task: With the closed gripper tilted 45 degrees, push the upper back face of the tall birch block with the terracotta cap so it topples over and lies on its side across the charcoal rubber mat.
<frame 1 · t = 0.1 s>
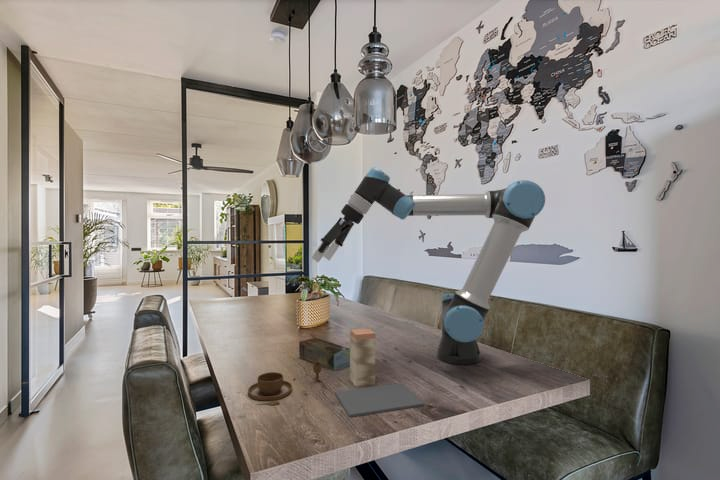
hand: (320, 259, 127), 36 cm above the table, tool tilted 35°, fingers open, 13 cm apart
birch block: (362, 381, 109), on the table
place setting: (285, 394, 102), on the table
beverage carton: (324, 362, 127), on the table
rubber mat: (377, 399, 97), on the table
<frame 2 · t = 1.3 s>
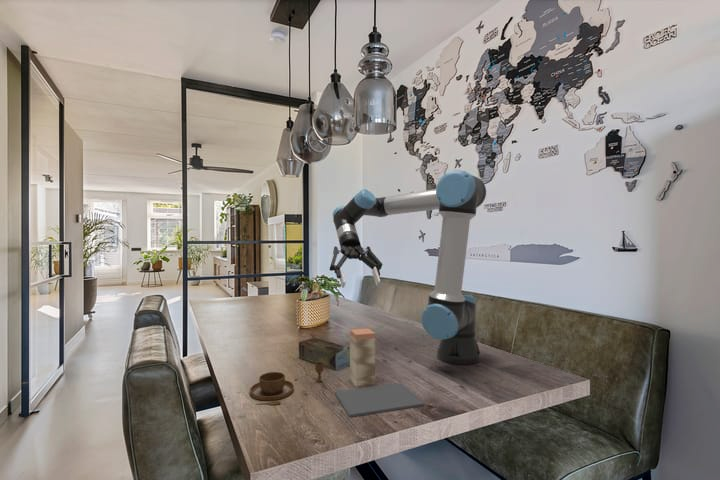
hand: (361, 284, 123), 27 cm above the table, tool tilted 45°, fingers open, 12 cm apart
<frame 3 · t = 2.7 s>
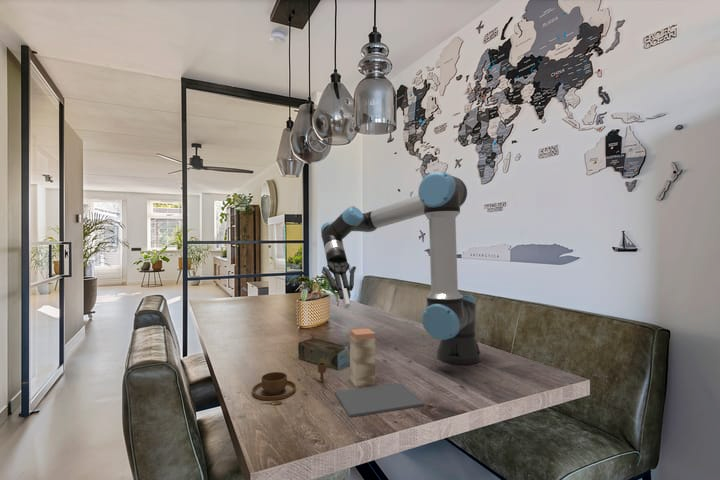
hand: (347, 306, 124), 20 cm above the table, tool tilted 45°, fingers closed
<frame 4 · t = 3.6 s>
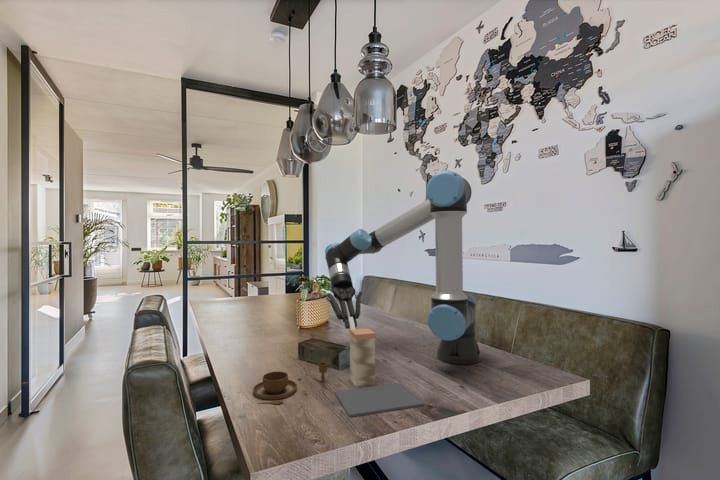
hand: (353, 336, 117), 11 cm above the table, tool tilted 45°, fingers closed
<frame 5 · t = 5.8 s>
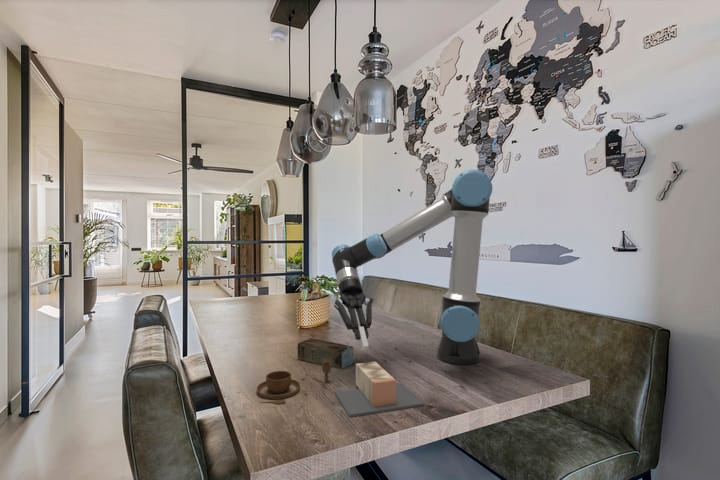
hand: (365, 348, 106), 11 cm above the table, tool tilted 45°, fingers closed
birch block: (365, 372, 106), point 4 cm above the table, tilted 90°, touching rubber mat
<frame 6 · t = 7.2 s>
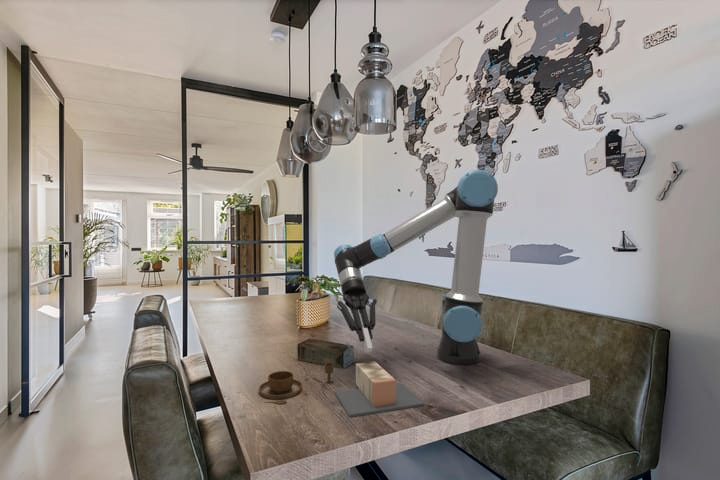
hand: (369, 350, 104), 11 cm above the table, tool tilted 45°, fingers closed
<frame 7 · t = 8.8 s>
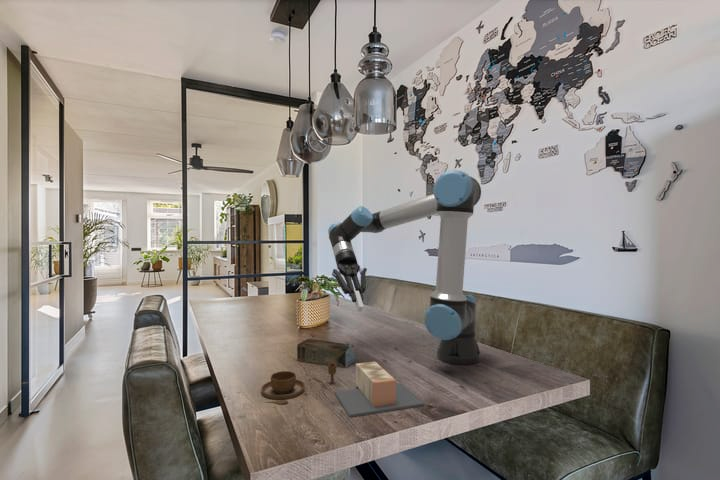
hand: (360, 309, 120), 20 cm above the table, tool tilted 45°, fingers closed
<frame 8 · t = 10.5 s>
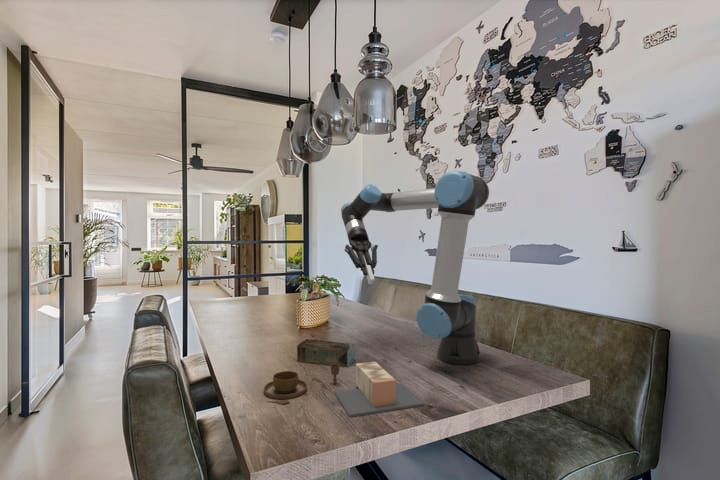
hand: (371, 281, 125), 28 cm above the table, tool tilted 45°, fingers closed
at the end: birch block tilted 90°; birch block touching rubber mat; birch block inside the target area (1.6 cm from its centre), point 3.6 cm above the table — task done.
